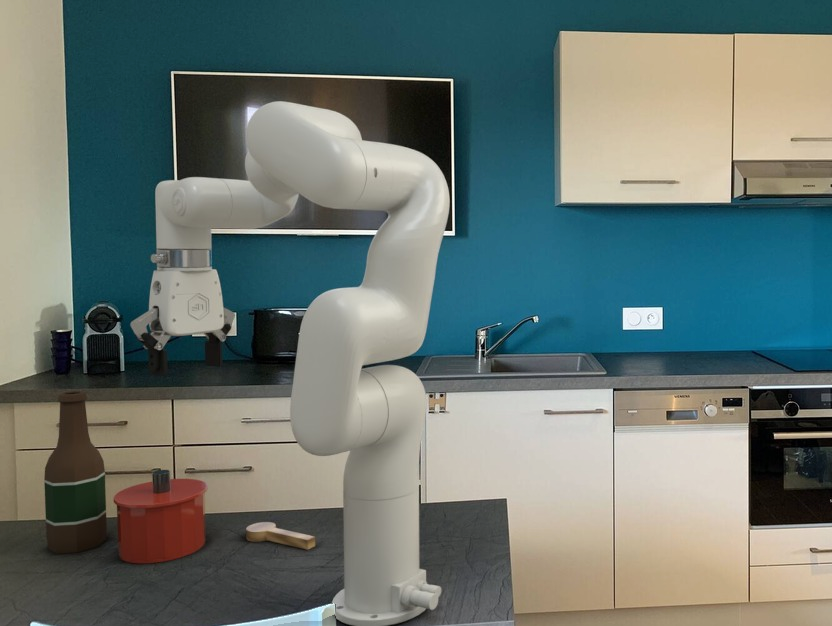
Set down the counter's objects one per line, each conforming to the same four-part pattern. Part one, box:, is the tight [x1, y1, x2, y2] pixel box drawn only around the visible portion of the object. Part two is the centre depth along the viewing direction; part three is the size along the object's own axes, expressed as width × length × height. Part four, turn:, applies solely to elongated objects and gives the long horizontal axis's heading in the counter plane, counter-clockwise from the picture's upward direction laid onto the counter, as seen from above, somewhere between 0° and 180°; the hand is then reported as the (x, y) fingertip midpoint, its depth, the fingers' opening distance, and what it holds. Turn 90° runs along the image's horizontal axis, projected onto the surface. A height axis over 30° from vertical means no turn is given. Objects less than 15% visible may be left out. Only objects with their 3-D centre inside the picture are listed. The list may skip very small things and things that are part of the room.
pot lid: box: [113, 469, 209, 508], centre depth 119 cm, size 13×13×4 cm
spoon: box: [245, 521, 316, 551], centre depth 123 cm, size 13×4×2 cm, turn 65°
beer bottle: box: [43, 390, 108, 555], centre depth 120 cm, size 8×8×24 cm
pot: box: [116, 492, 207, 564], centre depth 120 cm, size 12×12×8 cm
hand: (187, 370), depth 121 cm, fingers open, 9 cm apart
